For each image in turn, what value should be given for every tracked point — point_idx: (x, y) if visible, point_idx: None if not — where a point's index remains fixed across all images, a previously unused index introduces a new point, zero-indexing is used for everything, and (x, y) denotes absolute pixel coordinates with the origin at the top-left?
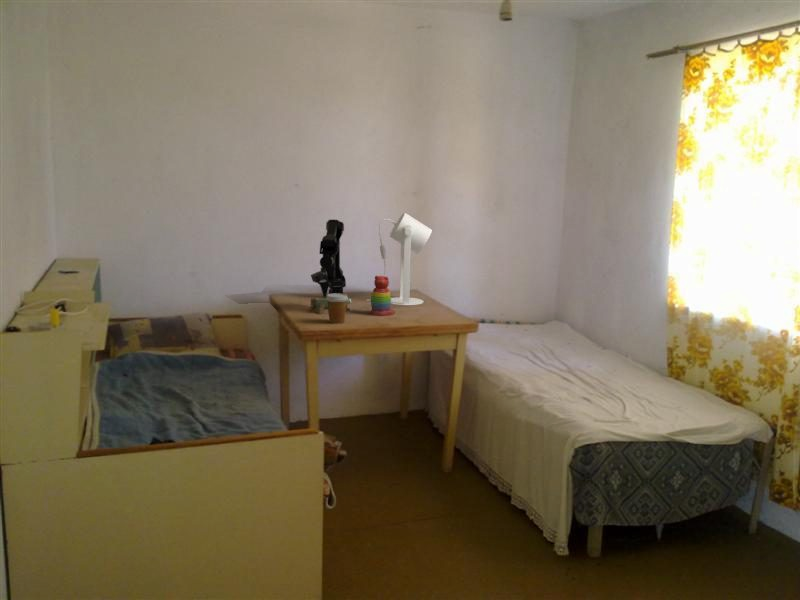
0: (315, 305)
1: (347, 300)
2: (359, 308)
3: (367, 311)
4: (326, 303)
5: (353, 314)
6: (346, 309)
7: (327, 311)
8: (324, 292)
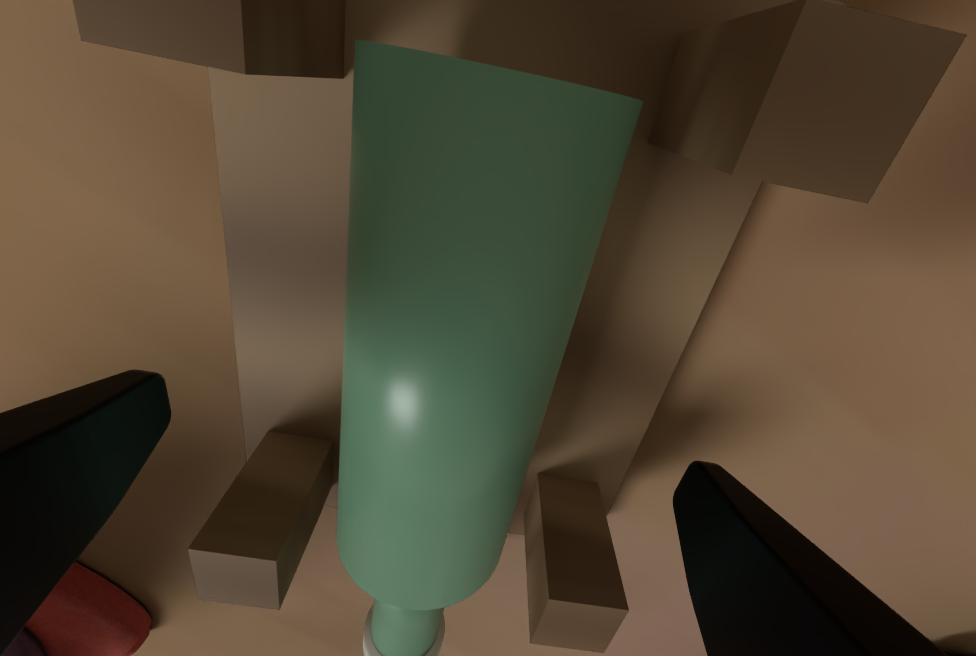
0: (671, 121)
1: (375, 626)
2: (334, 589)
3: (154, 566)
4: (349, 251)
5: (21, 385)
6: (250, 450)
7: (217, 117)
8: (744, 587)
